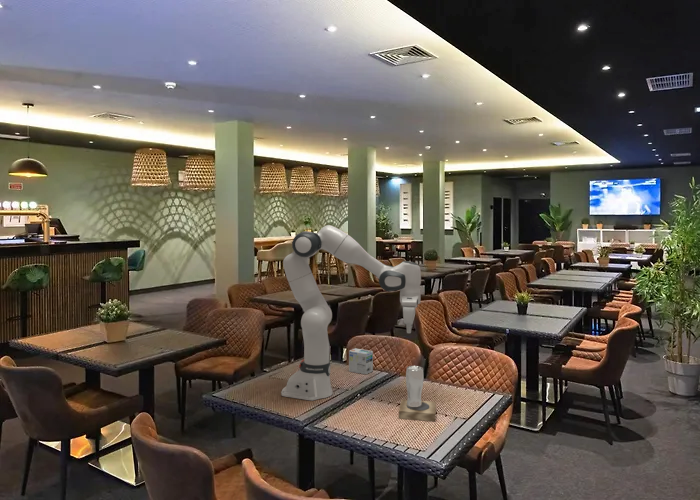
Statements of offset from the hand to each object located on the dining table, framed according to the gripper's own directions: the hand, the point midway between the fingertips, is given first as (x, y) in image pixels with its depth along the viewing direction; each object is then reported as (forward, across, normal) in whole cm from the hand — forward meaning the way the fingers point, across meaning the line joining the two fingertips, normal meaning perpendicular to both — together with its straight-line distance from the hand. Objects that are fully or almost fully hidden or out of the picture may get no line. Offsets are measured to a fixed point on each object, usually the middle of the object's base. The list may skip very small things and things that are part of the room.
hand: (409, 330), depth 222 cm
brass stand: (+29, +19, +5) cm, 35 cm away
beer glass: (+26, +19, +4) cm, 32 cm away
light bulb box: (+29, -31, -26) cm, 50 cm away
